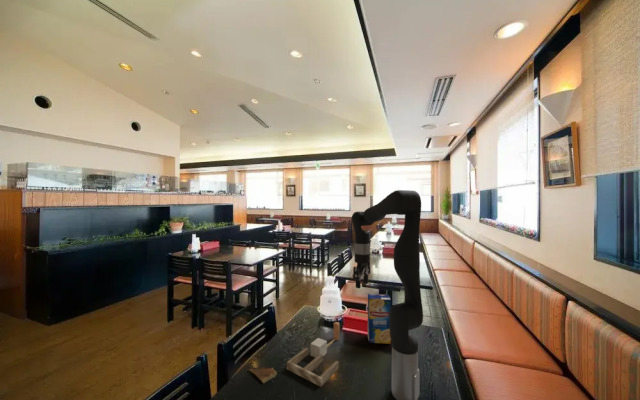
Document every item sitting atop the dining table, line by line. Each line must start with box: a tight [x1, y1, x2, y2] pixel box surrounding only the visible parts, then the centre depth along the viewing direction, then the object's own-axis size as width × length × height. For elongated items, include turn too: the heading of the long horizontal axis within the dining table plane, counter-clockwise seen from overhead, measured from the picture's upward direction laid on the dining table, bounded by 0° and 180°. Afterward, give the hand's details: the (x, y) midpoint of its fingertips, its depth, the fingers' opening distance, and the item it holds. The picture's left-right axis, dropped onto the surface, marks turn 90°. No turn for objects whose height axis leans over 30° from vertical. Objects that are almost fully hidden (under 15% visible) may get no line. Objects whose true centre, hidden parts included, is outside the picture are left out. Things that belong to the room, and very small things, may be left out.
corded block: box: [310, 321, 341, 359], centre depth 123 cm, size 5×20×8 cm, turn 145°
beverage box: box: [367, 293, 392, 345], centre depth 130 cm, size 7×11×22 cm, turn 85°
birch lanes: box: [286, 347, 340, 388], centre depth 106 cm, size 18×13×3 cm
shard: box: [248, 367, 277, 384], centre depth 104 cm, size 11×8×2 cm
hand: (362, 285), depth 123 cm, fingers open, 8 cm apart
